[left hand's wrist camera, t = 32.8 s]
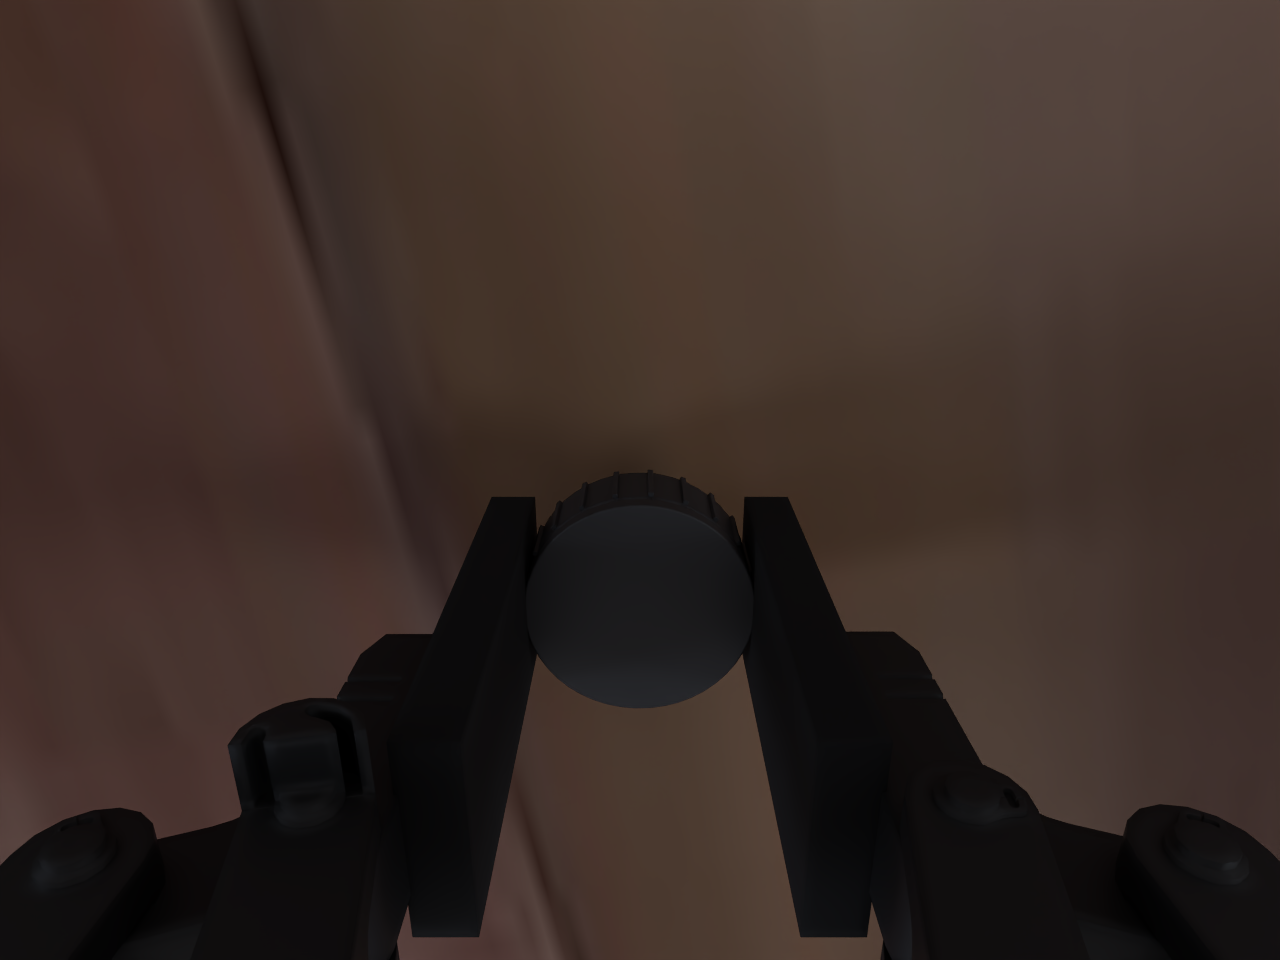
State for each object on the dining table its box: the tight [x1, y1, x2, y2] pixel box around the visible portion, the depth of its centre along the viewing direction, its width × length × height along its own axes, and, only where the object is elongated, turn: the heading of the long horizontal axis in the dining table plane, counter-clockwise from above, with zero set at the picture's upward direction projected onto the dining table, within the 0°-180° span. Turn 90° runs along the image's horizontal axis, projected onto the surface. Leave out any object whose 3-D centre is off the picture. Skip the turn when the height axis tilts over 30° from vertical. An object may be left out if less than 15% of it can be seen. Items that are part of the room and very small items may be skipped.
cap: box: [525, 470, 754, 708], centre depth 14 cm, size 4×4×2 cm
